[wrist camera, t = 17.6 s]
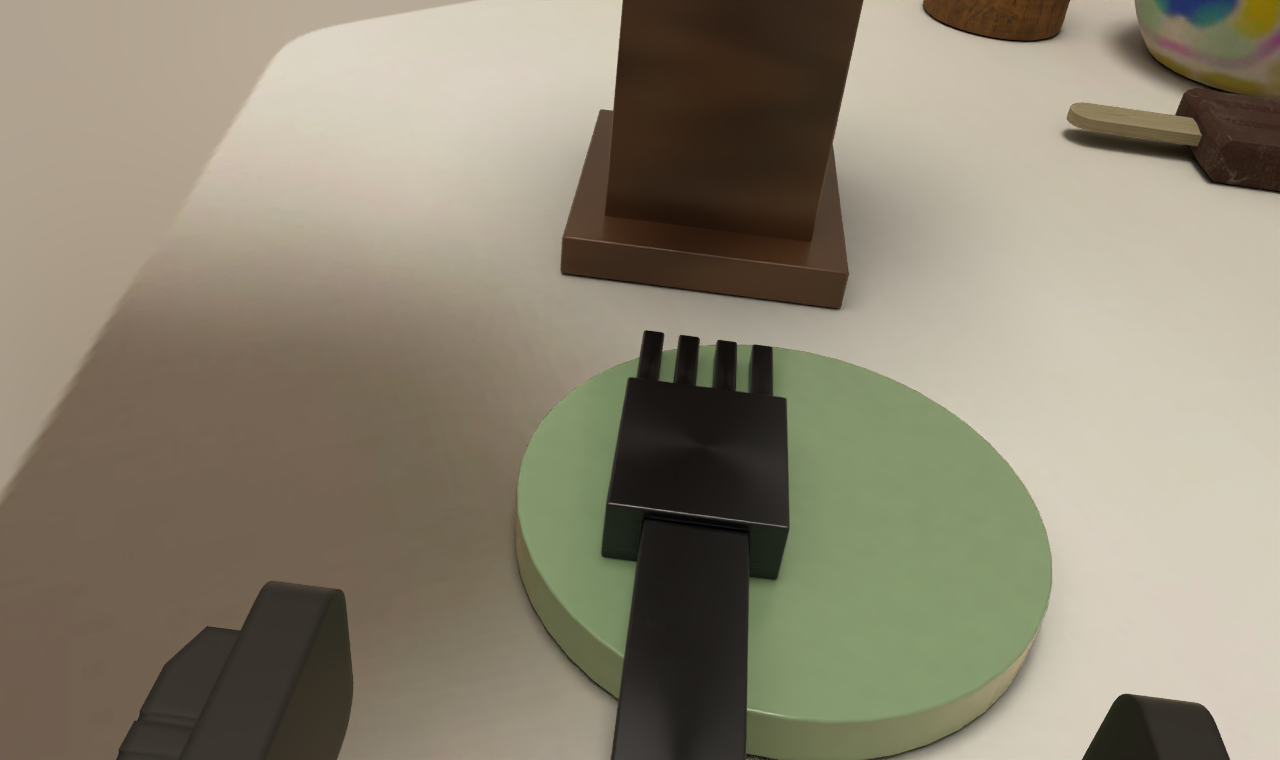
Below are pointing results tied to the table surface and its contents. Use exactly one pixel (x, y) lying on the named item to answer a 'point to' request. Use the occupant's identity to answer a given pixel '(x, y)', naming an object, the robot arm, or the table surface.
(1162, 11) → the decorative egg
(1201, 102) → the ice cream bar
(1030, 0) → the mortar and pestle
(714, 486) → the fork
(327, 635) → the robot arm
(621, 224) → the stand
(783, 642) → the plate
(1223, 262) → the table surface
